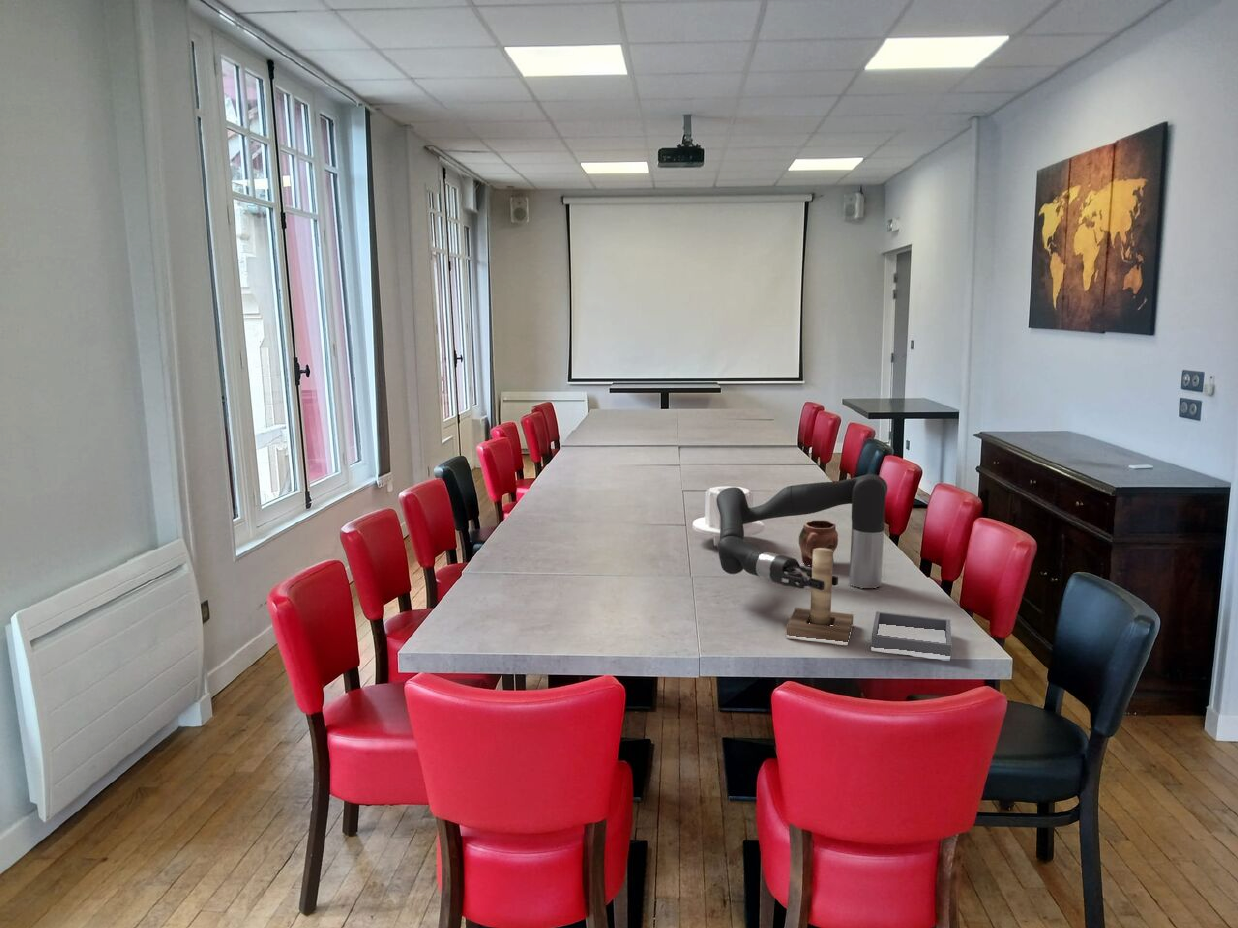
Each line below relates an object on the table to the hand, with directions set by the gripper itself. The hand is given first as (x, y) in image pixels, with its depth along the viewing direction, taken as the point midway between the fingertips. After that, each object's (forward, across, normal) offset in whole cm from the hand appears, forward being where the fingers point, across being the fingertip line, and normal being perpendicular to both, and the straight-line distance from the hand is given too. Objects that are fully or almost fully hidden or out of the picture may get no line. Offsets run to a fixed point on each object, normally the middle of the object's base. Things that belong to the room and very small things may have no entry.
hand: (830, 583), depth 215 cm
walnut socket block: (-3, 0, -14) cm, 14 cm away
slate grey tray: (+16, -11, -14) cm, 24 cm away
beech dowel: (-3, 0, -12) cm, 12 cm away
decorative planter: (-39, -46, -14) cm, 62 cm away
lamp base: (-76, -44, -14) cm, 89 cm away
